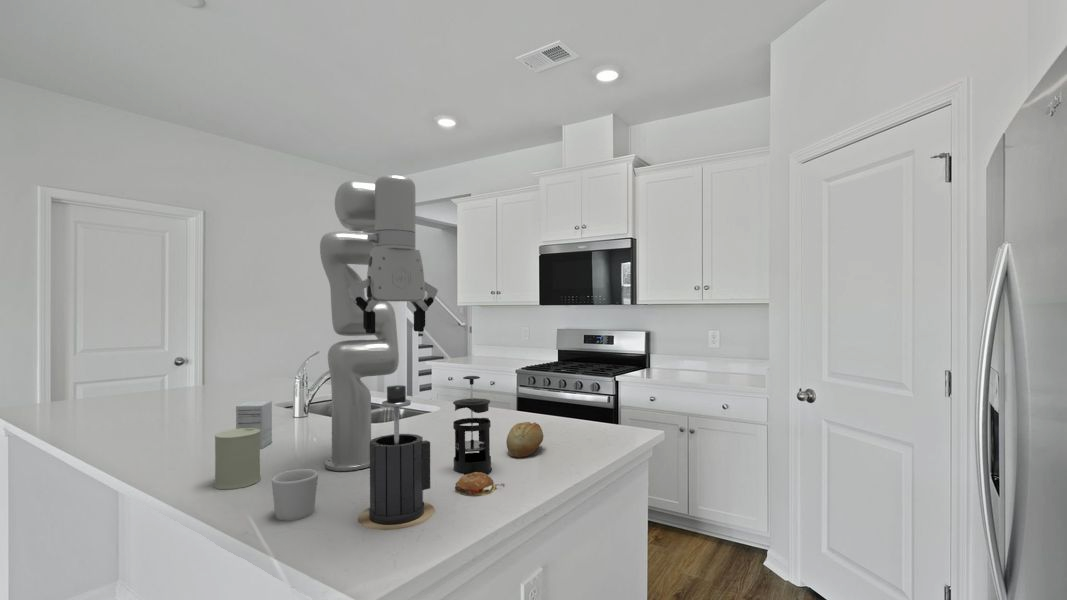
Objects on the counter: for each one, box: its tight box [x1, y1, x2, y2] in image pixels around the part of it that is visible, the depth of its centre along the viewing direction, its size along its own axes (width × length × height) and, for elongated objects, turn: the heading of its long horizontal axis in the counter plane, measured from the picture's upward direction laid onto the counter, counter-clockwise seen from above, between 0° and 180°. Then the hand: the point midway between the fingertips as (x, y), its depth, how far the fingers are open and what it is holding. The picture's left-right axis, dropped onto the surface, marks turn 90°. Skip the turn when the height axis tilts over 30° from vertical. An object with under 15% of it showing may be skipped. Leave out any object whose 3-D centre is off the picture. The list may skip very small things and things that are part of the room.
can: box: [213, 428, 262, 491], centre depth 116 cm, size 9×9×12 cm
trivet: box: [357, 501, 436, 531], centre depth 95 cm, size 14×14×1 cm
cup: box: [271, 468, 319, 521], centre depth 97 cm, size 11×8×8 cm
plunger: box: [381, 384, 412, 445], centre depth 95 cm, size 6×6×21 cm
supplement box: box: [235, 400, 273, 449], centre depth 148 cm, size 7×7×13 cm
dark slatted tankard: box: [368, 433, 431, 525], centre depth 95 cm, size 10×12×14 cm
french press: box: [452, 375, 493, 476], centre depth 123 cm, size 12×9×23 cm
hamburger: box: [454, 472, 506, 496], centre depth 109 cm, size 14×14×6 cm
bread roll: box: [506, 421, 544, 459], centre depth 139 cm, size 10×15×8 cm, turn 168°
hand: (395, 332), depth 96 cm, fingers open, 9 cm apart
